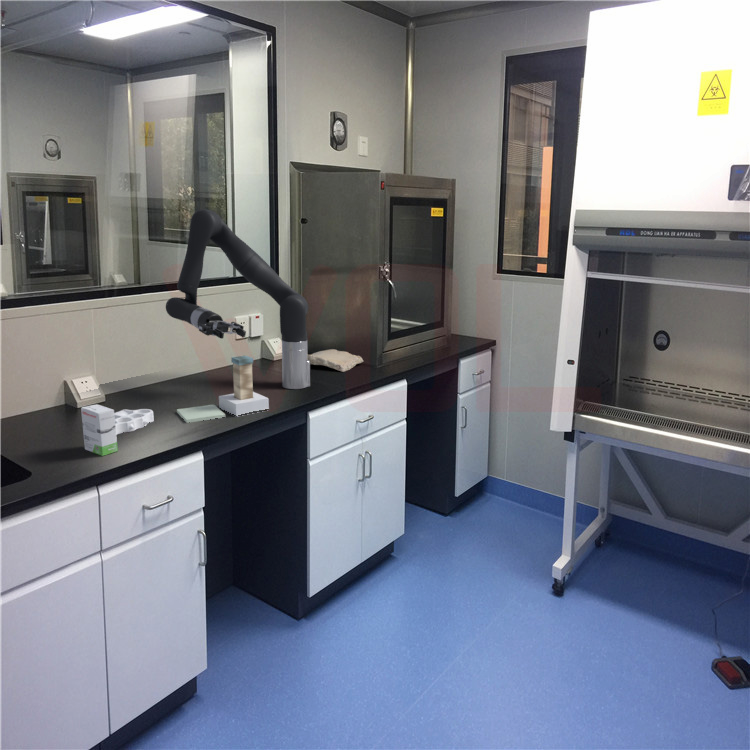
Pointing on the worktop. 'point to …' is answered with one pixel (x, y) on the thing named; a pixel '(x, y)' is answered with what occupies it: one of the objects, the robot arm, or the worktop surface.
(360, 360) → the flat sandstone piece
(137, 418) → the white multi-hole tray
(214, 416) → the pad
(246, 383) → the plug
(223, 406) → the white square stand
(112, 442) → the ink box
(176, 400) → the worktop surface
